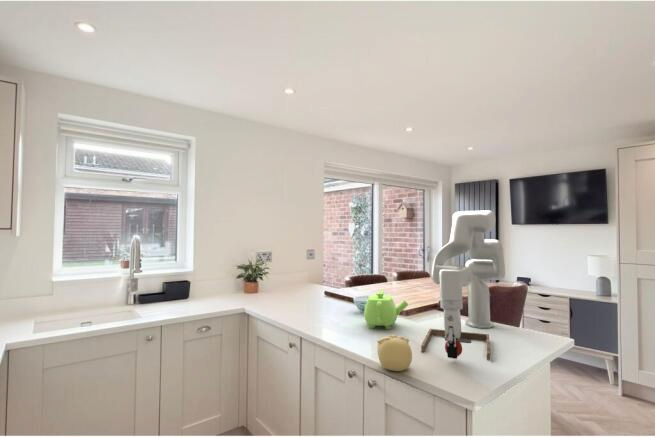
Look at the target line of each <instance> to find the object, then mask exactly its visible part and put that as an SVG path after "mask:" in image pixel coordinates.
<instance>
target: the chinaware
mask: <svg viewBox="0 0 655 437" xmlns="http://www.w3.org/2000/svg"><path fill="white" fill-rule="evenodd" d="M369 296H370V295H359V296H354V297H353V303H354V305H355V307H356V308H357V309H358V310H360V312H361V313H362V314H364V311H365V306H366V303H367V300H368V298H369Z"/></svg>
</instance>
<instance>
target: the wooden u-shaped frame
mask: <svg viewBox="0 0 655 437" xmlns="http://www.w3.org/2000/svg"><path fill="white" fill-rule="evenodd" d="M432 336H434V337H445V329H437V328H435V329H434V328H429V329H428V331H427V333H426V335H425V337H424V338H423V342H422V343H421V346H420V348H421V351H420V352H421V353H425V351H426V349H427V347H428V345H429V343H430V341H431V338H432ZM444 340H445V341H447V338H446V337H445V338H444ZM472 340H473V341H483V342H486V360H487V361H491V350H490V346H491V345H490V334H489V333H488V334H487V333H480V332H477V333H476V332H466V331H461V337H460V339H458V341H459V342H460V343H467V344H471V343H472Z"/></svg>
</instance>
